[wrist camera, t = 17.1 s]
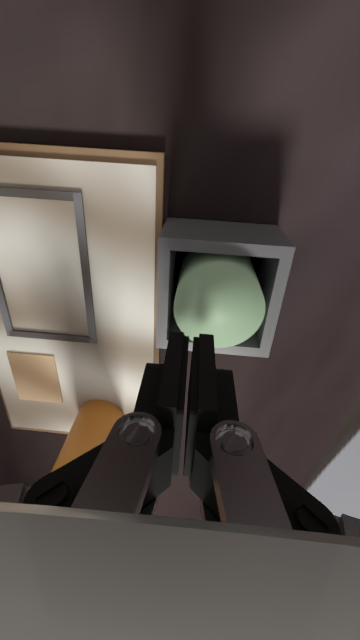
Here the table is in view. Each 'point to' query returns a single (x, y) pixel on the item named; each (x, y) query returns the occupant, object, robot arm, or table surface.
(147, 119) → the table surface
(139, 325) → the sheet
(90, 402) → the marker
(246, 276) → the button
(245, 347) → the button housing
